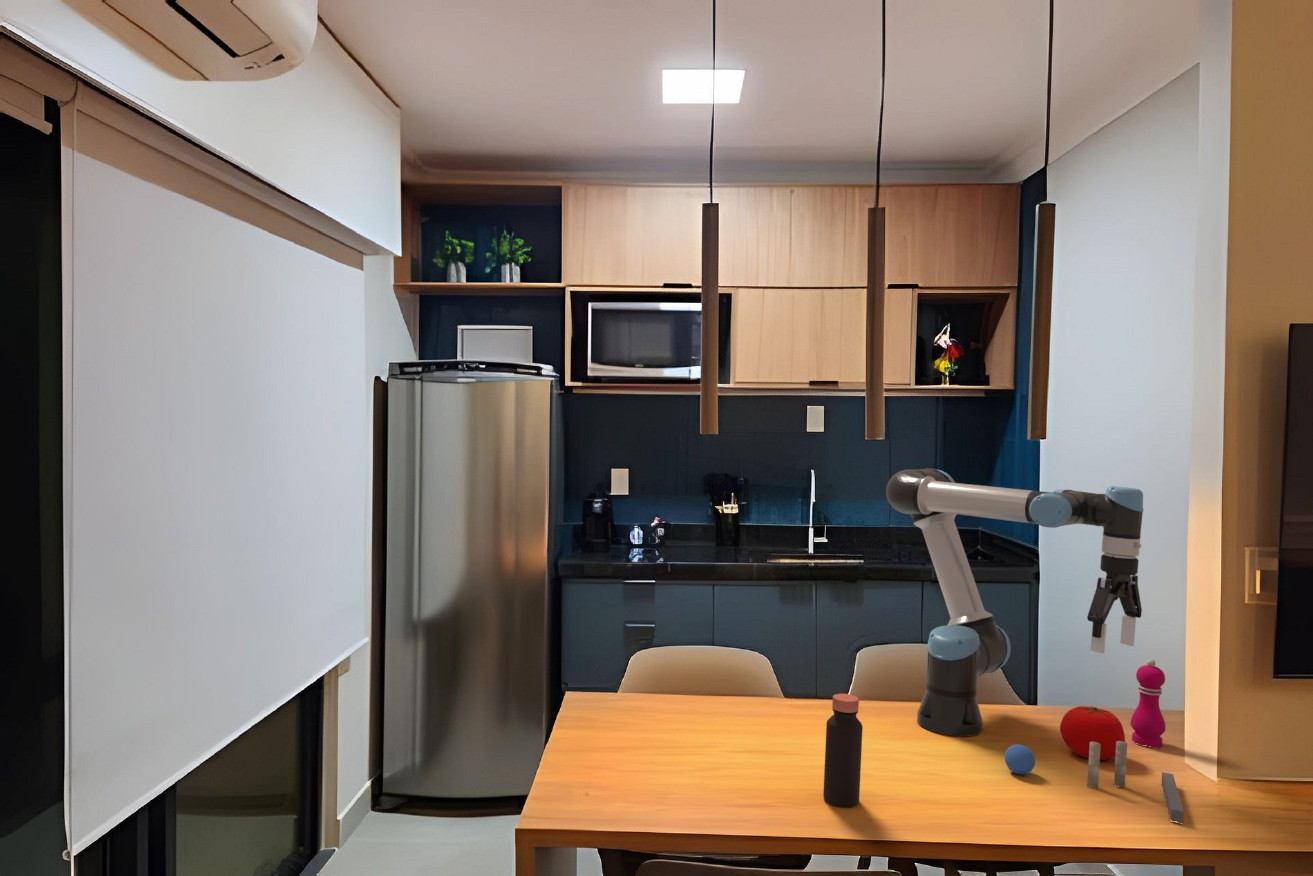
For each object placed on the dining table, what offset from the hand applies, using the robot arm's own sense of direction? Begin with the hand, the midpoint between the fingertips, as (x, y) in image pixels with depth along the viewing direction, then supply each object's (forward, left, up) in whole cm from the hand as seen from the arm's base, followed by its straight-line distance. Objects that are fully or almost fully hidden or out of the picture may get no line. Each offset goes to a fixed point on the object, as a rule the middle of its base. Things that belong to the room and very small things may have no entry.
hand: (1112, 648), depth 200 cm
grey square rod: (+11, -24, -24) cm, 36 cm away
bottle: (-47, -57, -24) cm, 78 cm away
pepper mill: (+9, +12, -24) cm, 28 cm away
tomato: (-3, -4, -24) cm, 25 cm away
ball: (-17, -24, -21) cm, 36 cm away
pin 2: (+2, -20, -24) cm, 31 cm away
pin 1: (-3, -24, -24) cm, 34 cm away
